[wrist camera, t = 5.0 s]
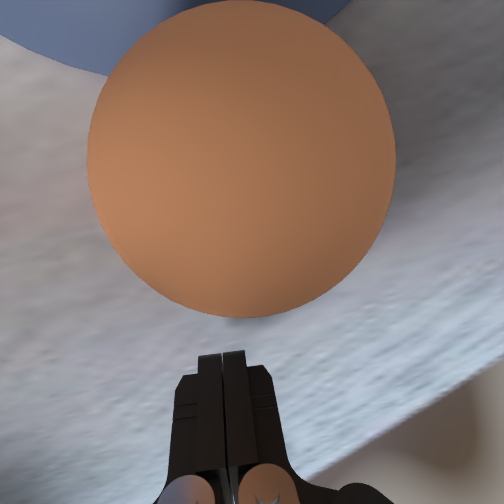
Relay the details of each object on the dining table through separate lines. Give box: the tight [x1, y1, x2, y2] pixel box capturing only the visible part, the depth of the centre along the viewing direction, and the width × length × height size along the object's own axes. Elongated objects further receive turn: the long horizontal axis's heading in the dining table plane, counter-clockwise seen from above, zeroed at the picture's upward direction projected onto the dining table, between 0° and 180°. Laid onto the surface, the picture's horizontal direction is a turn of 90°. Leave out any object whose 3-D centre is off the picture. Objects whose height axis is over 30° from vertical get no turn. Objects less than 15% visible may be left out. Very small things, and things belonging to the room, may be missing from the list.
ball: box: [87, 0, 396, 318], centre depth 7 cm, size 6×6×6 cm
